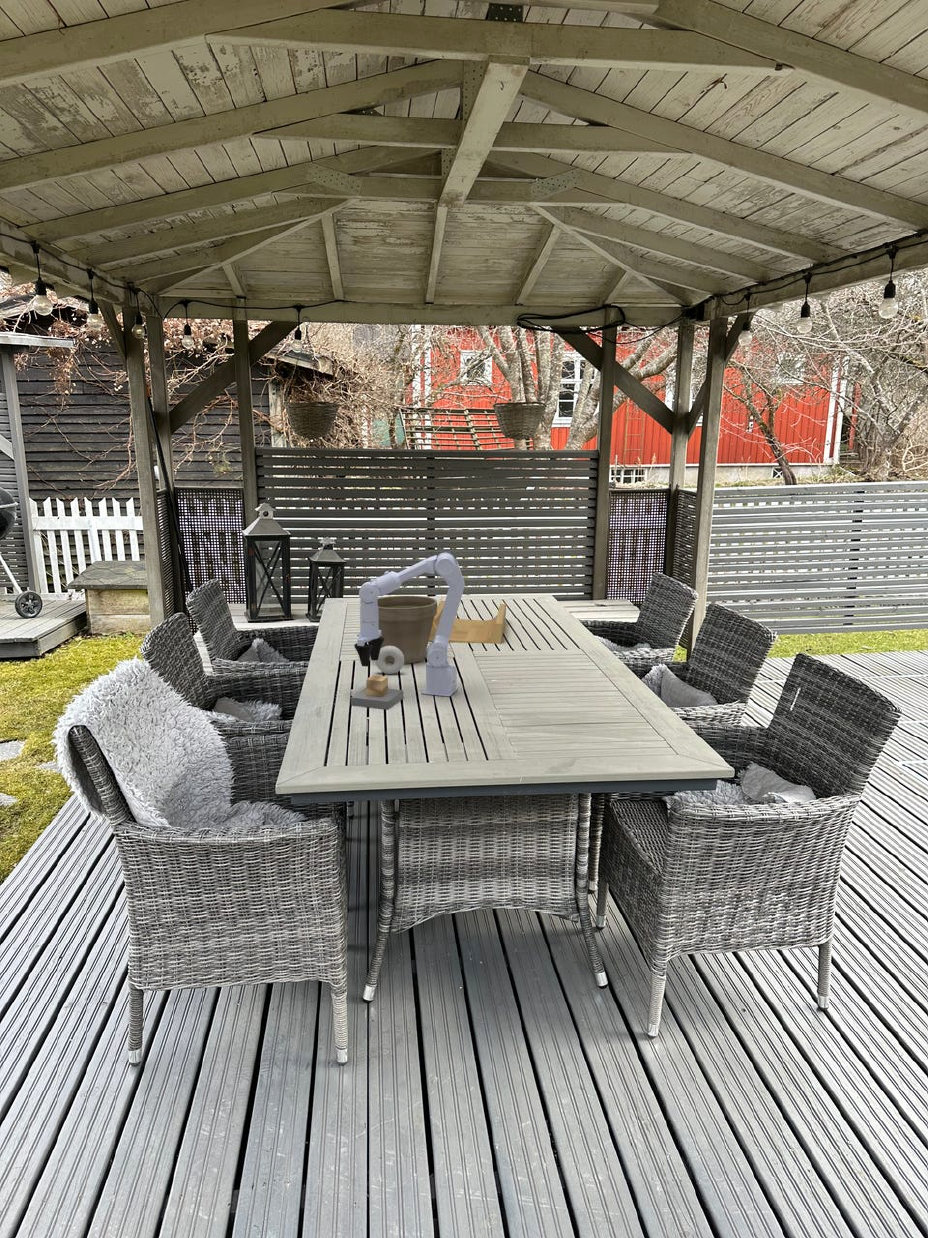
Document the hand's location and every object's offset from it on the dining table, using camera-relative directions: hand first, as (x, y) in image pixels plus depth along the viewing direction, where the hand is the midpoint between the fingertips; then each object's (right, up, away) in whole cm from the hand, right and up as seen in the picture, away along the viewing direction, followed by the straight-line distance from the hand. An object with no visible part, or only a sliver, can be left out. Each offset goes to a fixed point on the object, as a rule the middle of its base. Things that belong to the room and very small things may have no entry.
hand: (369, 663), depth 249 cm
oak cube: (+3, -9, -8) cm, 12 cm away
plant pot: (+7, -1, +42) cm, 42 cm away
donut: (+4, -5, +22) cm, 23 cm away
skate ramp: (+29, +8, +86) cm, 91 cm away
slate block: (+3, -12, -7) cm, 14 cm away
